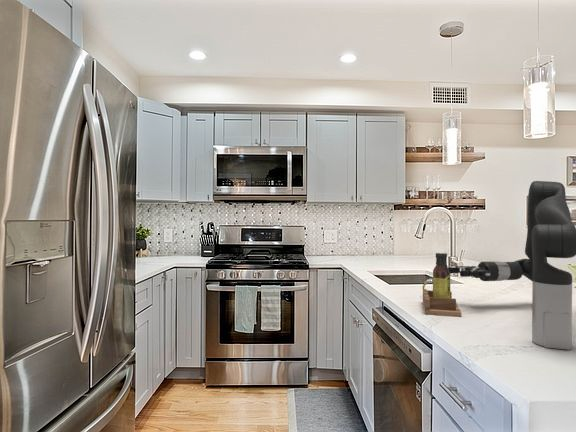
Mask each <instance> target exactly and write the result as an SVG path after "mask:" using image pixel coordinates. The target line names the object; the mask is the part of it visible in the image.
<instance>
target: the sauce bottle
mask: <svg viewBox="0 0 576 432" xmlns="http://www.w3.org/2000/svg"><path fill="white" fill-rule="evenodd" d="M447 257H448V253H447V252H435V266H434V268H433V270H432V280H433V283H432V291H433V297H435V298H450V292H451V273H450V272H449V269H448V268H449V266H448V264H447V263H448V261H447Z"/></svg>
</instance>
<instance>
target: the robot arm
mask: <svg viewBox="0 0 576 432" xmlns="http://www.w3.org/2000/svg"><path fill="white" fill-rule="evenodd" d="M566 197H567V196H566V187H565V186H564V184H563V183H562V182H560V181H559V182H558V181H549V180H547V181H546V180H545V181H544V180H533V181H531V183H530V184H529V189H528V196H527V215H526V216H527V219H526V221H527V222H526V223H527V225H526V226H527V227H526V228H527V229H526V231H527V232H526V233H527V234H526V240H525V241H526V242H525V245H524V246H525V248H524V254H525V256H526V257H527V258H521V259H517V260H514V261H481V262H479V264H478V265H477V266H476V265H471V266H470V265H461V266H460V265H456V266H455V267H453V266H452V267H449V266H448V269H449V272H450V274H459V277H461V278H466V277H468V278H475V279H480V281H483V282H502V281H515V280H516V281H517V280H519V279H521V278H522V277H523V276H524V277H525V278H527V279H528V280H529V281H531V282H532V284H531V285H532V286H531V287H532V292H531V293H532V294H531V295H532V296H531V298H532V299H531V300H532V301H531V302H532V303H531V304H532V305H531V308H532V309H531V315H532V316H531V317H532V318H531V329H532V330H531V340H532V342H533V343H534V344H536V345H539V346H541V347H543V348H547V349H558V350H572V347H573V344H572V343H573V275H572V273H571V272H569V271H566V270H563V269H561V268H558V267H555V266H554V265H552V264H551V263H549V262H548V258H552V259H570V258H571V259H572V258H573V257H576V226H575V225H574V222H573V221H572V215H571V212H570V208H569V206H568V204H567V198H566Z"/></svg>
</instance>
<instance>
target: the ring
mask: <svg viewBox="0 0 576 432" xmlns="http://www.w3.org/2000/svg"><path fill="white" fill-rule="evenodd" d="M431 283H432V284H433V278H429V279H428V278H427V279H426V280H425V281H424V283H423V285H422V290H423V289H425V287H426V286H427V285H428V284H431Z"/></svg>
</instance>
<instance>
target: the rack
mask: <svg viewBox="0 0 576 432" xmlns="http://www.w3.org/2000/svg"><path fill="white" fill-rule="evenodd" d="M452 294H453V293H452V291H450V298H435V297H433V290H428V289H427V288H424V289H423V288H422V306H423V310H424V314H425V315H430V316H441V317H442V316H444V317H458V318H459V317H460V318H462V311H461V309H460V308H459V306H458V304H457V299H456V298H452V297H453V296H452Z"/></svg>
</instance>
